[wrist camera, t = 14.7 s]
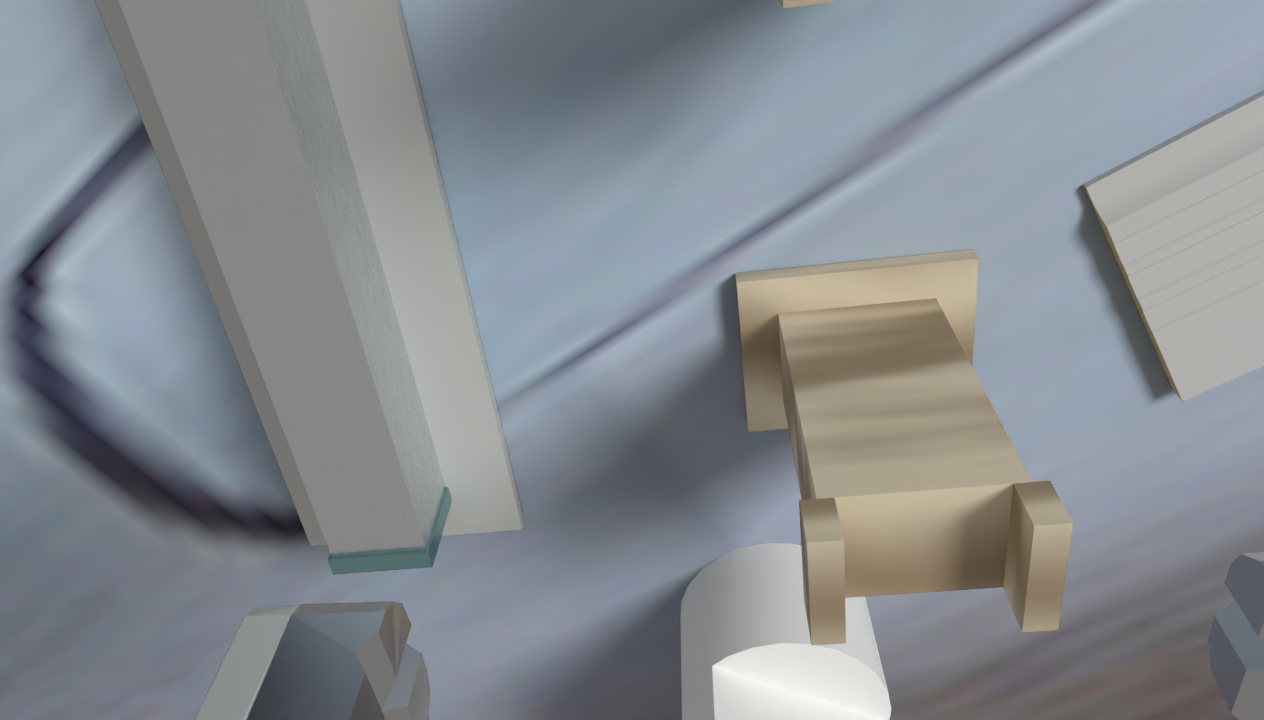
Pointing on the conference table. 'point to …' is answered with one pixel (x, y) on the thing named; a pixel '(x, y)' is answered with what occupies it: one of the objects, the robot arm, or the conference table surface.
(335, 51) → the pale gray flat board
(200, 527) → the conference table surface
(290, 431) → the rail
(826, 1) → the post
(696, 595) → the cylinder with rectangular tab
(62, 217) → the conference table surface
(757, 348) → the post
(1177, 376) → the baseboard molding
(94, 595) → the conference table surface
